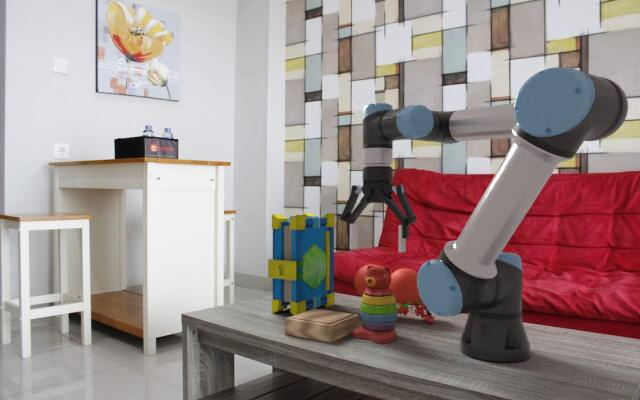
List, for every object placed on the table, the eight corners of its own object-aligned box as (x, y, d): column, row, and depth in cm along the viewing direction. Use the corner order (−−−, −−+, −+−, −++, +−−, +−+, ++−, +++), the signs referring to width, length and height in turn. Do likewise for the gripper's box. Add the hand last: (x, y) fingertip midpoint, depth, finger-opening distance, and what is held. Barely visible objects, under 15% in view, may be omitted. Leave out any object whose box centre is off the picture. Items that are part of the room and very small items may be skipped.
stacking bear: (348, 336, 129) (348, 266, 129) (372, 329, 137) (372, 262, 137) (383, 344, 122) (383, 270, 122) (407, 336, 129) (407, 265, 129)
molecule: (348, 318, 149) (348, 265, 149) (362, 310, 159) (362, 261, 159) (433, 328, 138) (433, 271, 138) (443, 319, 147) (443, 266, 147)
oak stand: (358, 329, 136) (358, 313, 136) (331, 342, 124) (331, 324, 124) (314, 322, 143) (314, 307, 143) (284, 334, 131) (284, 317, 131)
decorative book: (263, 313, 155) (263, 214, 155) (308, 300, 174) (308, 212, 174) (301, 319, 147) (301, 215, 147) (344, 305, 166) (344, 213, 166)
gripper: (430, 165, 126) (429, 252, 126) (342, 168, 139) (341, 246, 139) (418, 163, 119) (418, 254, 119) (327, 166, 133) (327, 248, 133)
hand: (377, 250), depth 129 cm, fingers open, 13 cm apart
